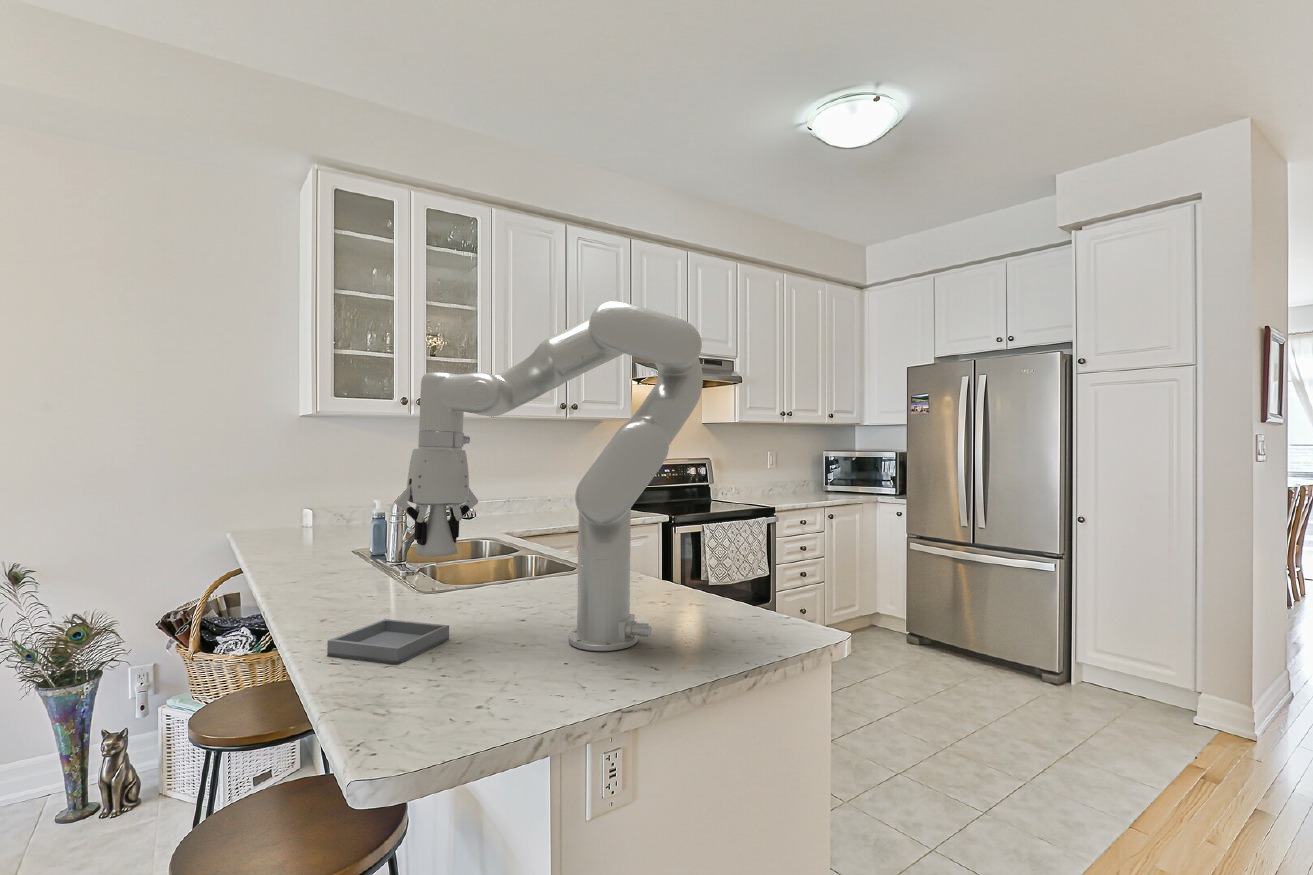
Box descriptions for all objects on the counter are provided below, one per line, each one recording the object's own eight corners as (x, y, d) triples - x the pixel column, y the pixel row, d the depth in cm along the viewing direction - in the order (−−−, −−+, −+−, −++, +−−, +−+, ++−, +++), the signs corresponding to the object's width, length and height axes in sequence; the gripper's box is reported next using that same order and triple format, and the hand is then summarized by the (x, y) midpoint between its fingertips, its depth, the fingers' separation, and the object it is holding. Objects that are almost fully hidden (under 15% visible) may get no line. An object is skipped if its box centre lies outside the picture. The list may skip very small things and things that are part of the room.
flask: (465, 554, 117) (467, 499, 117) (430, 559, 111) (432, 501, 111) (442, 549, 122) (444, 496, 122) (406, 554, 116) (408, 498, 116)
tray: (449, 639, 118) (449, 625, 118) (397, 664, 105) (397, 648, 105) (385, 632, 122) (385, 618, 122) (327, 655, 109) (327, 640, 109)
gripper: (478, 442, 125) (474, 537, 125) (385, 439, 115) (381, 543, 114) (493, 443, 119) (489, 543, 119) (397, 440, 109) (392, 549, 108)
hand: (436, 541), depth 116 cm, fingers closed on flask, 4 cm apart
